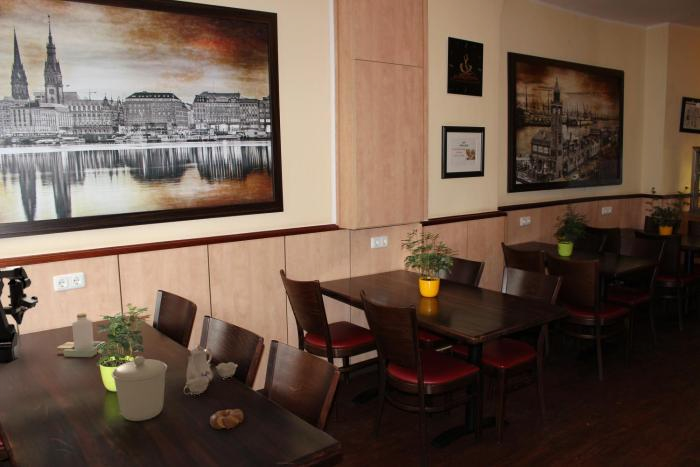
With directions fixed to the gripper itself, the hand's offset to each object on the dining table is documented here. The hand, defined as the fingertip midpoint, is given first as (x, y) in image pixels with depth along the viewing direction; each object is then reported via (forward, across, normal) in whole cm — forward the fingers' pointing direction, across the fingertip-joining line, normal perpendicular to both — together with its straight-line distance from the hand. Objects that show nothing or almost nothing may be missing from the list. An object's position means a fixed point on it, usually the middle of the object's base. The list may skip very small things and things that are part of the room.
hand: (19, 324), depth 271 cm
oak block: (+12, -2, -26) cm, 29 cm away
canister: (+12, -66, -92) cm, 114 cm away
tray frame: (+12, -3, -34) cm, 36 cm away
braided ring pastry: (+13, -70, -123) cm, 142 cm away
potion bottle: (+12, -3, -33) cm, 36 cm away
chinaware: (+12, -38, -105) cm, 112 cm away
